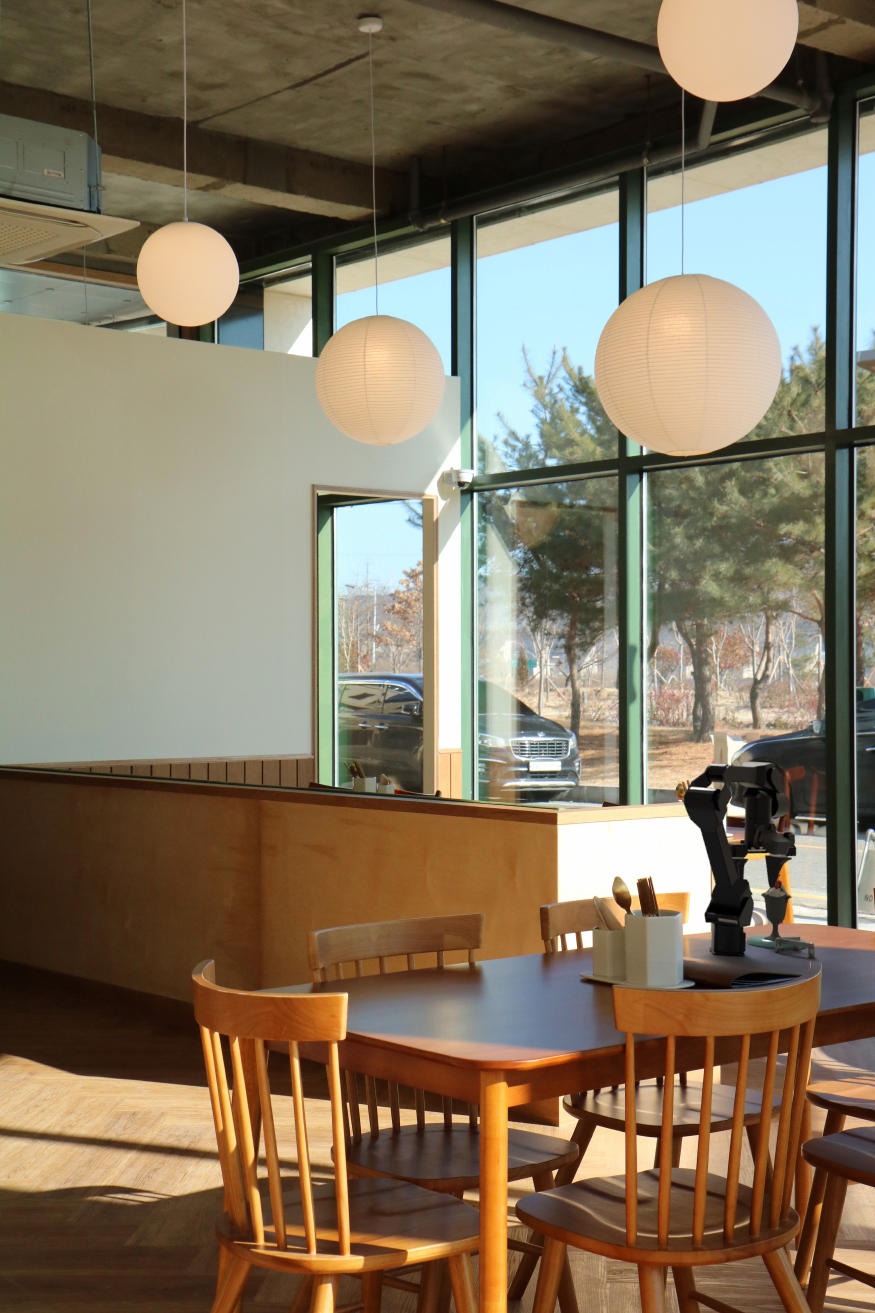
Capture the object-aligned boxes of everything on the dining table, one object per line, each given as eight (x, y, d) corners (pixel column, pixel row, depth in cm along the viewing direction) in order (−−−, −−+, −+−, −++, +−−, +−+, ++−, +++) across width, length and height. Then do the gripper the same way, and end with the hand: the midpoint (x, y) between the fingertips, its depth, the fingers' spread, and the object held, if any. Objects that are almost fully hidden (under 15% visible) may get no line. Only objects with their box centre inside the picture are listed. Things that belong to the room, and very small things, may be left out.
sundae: (776, 943, 296) (778, 875, 297) (753, 938, 302) (755, 871, 302) (796, 941, 300) (798, 874, 300) (773, 936, 305) (775, 871, 306)
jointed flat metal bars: (780, 956, 284) (781, 942, 285) (770, 948, 294) (770, 934, 295) (815, 958, 284) (815, 943, 284) (803, 950, 294) (804, 936, 294)
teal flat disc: (753, 948, 294) (753, 943, 294) (741, 938, 307) (741, 933, 307) (812, 950, 294) (812, 946, 294) (797, 940, 307) (797, 936, 307)
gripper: (750, 821, 285) (748, 894, 285) (815, 821, 294) (813, 892, 294) (716, 817, 295) (714, 887, 295) (779, 817, 304) (777, 885, 303)
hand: (756, 888), depth 296 cm, fingers open, 9 cm apart
